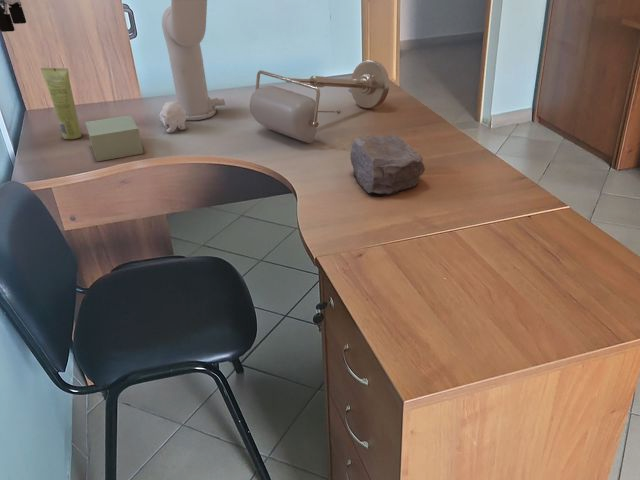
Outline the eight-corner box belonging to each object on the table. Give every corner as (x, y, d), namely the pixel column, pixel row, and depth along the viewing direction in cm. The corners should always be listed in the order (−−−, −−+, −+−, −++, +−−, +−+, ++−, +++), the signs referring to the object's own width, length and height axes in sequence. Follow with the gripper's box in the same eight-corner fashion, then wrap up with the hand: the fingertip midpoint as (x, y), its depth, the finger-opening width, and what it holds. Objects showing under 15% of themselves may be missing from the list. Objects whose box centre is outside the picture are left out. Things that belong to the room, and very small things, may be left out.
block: (136, 138, 168) (131, 114, 164) (143, 153, 159) (138, 128, 155) (92, 146, 164) (85, 121, 160) (96, 161, 155) (89, 136, 151)
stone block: (436, 155, 135) (379, 151, 129) (425, 202, 140) (369, 201, 134) (403, 134, 148) (349, 130, 142) (393, 177, 153) (341, 175, 147)
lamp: (335, 123, 200) (237, 125, 171) (345, 54, 191) (244, 42, 162) (395, 143, 185) (299, 149, 156) (409, 68, 176) (310, 59, 147)
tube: (81, 132, 173) (61, 64, 162) (86, 136, 170) (67, 67, 159) (61, 136, 170) (40, 67, 159) (66, 141, 167) (45, 71, 156)
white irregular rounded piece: (163, 105, 165) (149, 99, 174) (170, 135, 169) (156, 127, 178) (184, 101, 168) (169, 95, 177) (190, 130, 172) (176, 123, 181)
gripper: (-6, -44, 136) (19, 33, 146) (17, -52, 150) (39, 19, 160) (-41, -43, 135) (-14, 35, 145) (-14, -51, 149) (9, 21, 159)
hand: (14, 27), depth 152 cm, fingers open, 9 cm apart
